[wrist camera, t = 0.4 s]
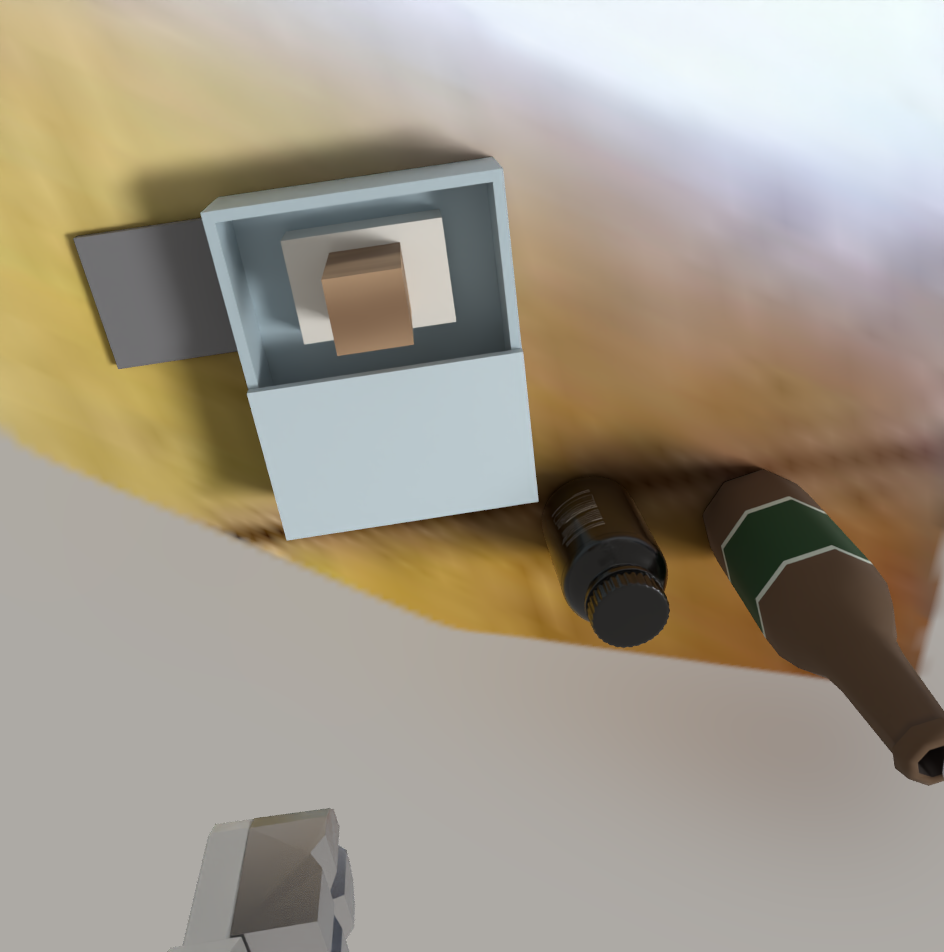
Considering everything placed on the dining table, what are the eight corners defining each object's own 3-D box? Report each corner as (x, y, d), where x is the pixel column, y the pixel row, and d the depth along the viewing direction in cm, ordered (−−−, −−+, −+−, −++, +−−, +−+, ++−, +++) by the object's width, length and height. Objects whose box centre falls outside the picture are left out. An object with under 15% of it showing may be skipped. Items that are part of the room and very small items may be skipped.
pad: (76, 236, 48) (73, 238, 48) (213, 216, 49) (211, 218, 48) (121, 365, 52) (118, 369, 52) (248, 346, 52) (247, 349, 52)
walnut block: (328, 252, 47) (321, 279, 41) (400, 242, 47) (401, 267, 41) (343, 321, 49) (337, 356, 43) (411, 311, 49) (414, 344, 43)
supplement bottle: (540, 558, 62) (571, 666, 51) (539, 476, 58) (572, 573, 48) (632, 551, 62) (682, 656, 51) (636, 468, 59) (690, 563, 48)
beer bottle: (677, 512, 61) (832, 766, 40) (767, 445, 59) (979, 673, 38) (735, 575, 64) (907, 842, 43) (822, 514, 62) (1047, 761, 41)
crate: (217, 197, 48) (198, 215, 43) (492, 156, 48) (504, 169, 43) (295, 497, 57) (286, 540, 53) (525, 462, 58) (538, 501, 53)
